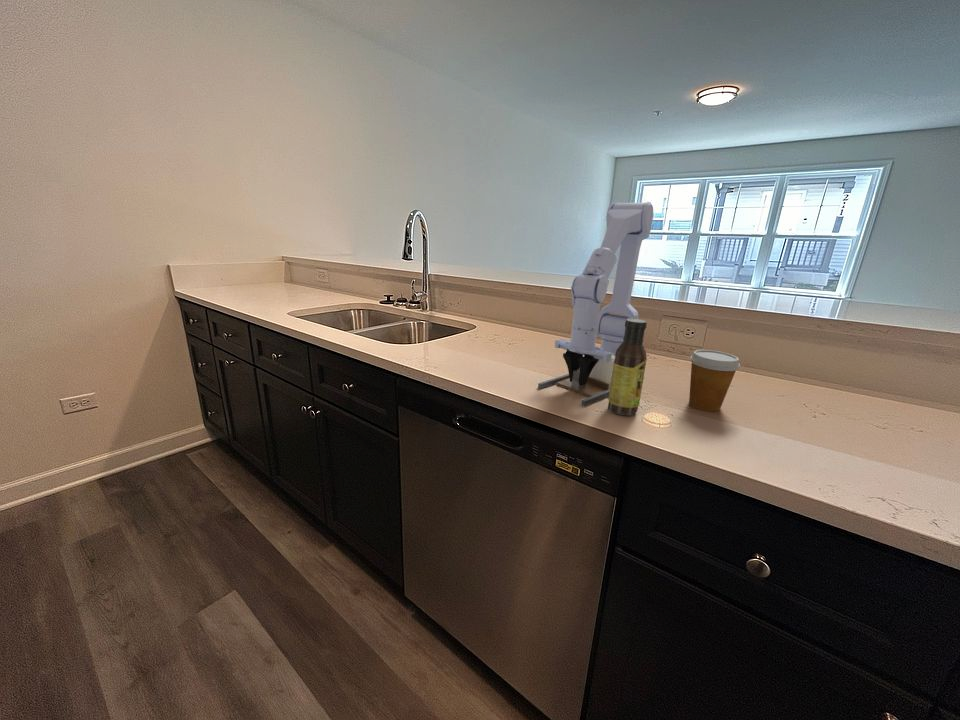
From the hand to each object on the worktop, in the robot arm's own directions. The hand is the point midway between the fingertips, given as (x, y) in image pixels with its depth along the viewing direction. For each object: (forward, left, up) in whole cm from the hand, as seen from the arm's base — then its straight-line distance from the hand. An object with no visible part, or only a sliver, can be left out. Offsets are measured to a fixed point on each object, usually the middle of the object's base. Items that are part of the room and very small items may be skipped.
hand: (577, 382), depth 95 cm
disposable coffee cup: (-16, +23, -2) cm, 28 cm away
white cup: (-9, 0, -2) cm, 9 cm away
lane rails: (-3, 0, -2) cm, 4 cm away
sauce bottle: (+2, +13, -2) cm, 13 cm away
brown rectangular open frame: (-6, 0, -2) cm, 7 cm away
